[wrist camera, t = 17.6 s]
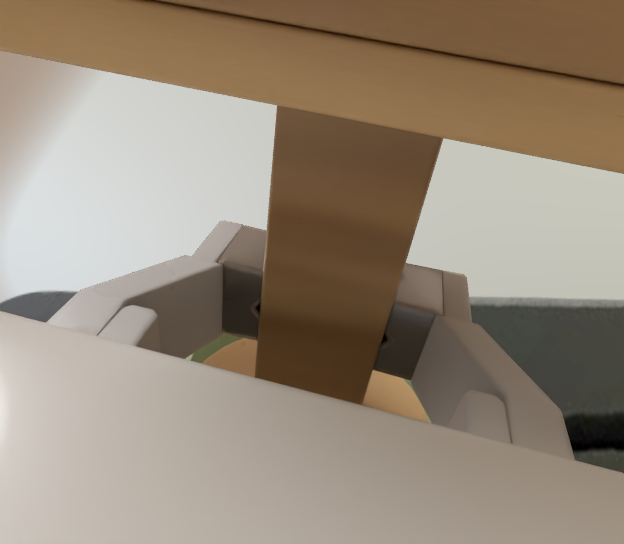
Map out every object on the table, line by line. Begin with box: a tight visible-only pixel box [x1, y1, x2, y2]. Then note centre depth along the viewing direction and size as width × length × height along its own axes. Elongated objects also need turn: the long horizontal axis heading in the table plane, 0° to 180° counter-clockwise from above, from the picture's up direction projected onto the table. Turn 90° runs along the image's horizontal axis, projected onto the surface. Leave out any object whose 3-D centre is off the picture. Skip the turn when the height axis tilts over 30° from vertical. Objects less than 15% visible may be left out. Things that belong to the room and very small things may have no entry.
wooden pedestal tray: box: [0, 0, 624, 422], centre depth 9 cm, size 8×8×12 cm
